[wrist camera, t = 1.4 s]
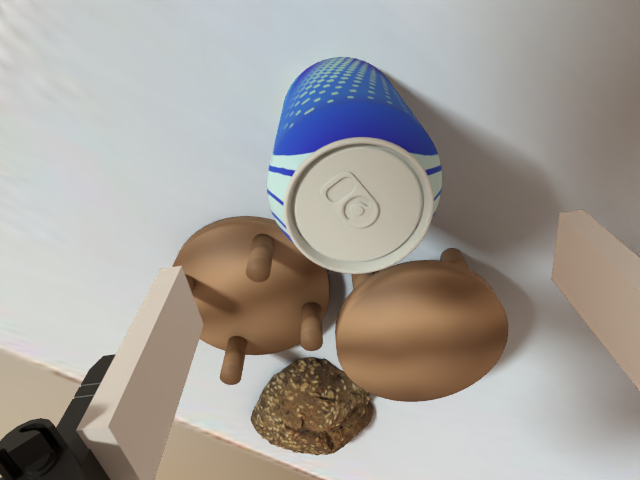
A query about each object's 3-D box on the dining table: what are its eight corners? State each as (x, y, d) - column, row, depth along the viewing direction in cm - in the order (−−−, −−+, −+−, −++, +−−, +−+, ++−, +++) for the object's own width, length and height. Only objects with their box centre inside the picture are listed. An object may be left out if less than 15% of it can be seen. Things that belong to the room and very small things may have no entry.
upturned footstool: (141, 260, 40) (115, 302, 34) (276, 188, 36) (270, 223, 31) (232, 360, 46) (222, 409, 41) (355, 307, 43) (360, 352, 37)
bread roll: (237, 412, 50) (230, 452, 46) (296, 342, 45) (294, 381, 41) (331, 450, 54) (333, 491, 50) (396, 390, 49) (404, 430, 45)
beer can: (401, 53, 31) (470, 115, 18) (392, 167, 36) (442, 289, 22) (280, 54, 31) (254, 116, 17) (285, 168, 35) (268, 291, 22)
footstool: (322, 245, 39) (324, 287, 34) (486, 222, 38) (513, 261, 33) (343, 361, 46) (347, 409, 41) (482, 344, 45) (504, 391, 40)
